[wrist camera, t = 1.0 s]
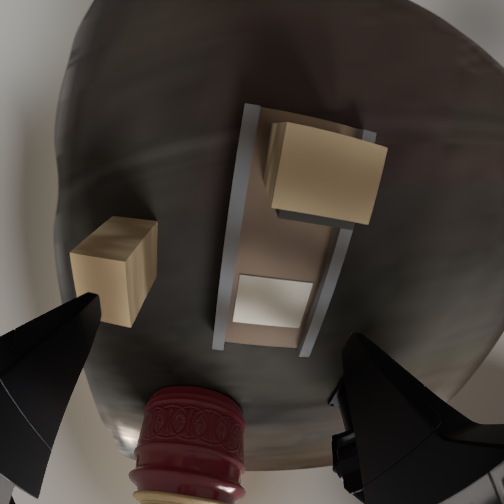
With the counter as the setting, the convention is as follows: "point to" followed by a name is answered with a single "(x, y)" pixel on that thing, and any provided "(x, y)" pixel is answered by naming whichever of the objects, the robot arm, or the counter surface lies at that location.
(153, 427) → the canister
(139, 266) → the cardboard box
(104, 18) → the counter surface
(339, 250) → the slider rail with block
